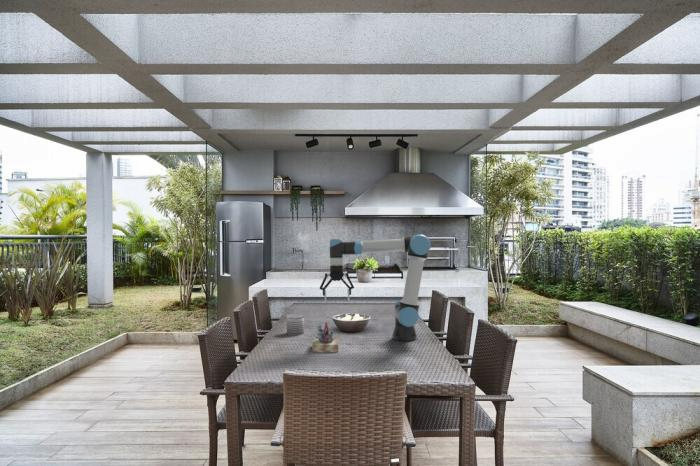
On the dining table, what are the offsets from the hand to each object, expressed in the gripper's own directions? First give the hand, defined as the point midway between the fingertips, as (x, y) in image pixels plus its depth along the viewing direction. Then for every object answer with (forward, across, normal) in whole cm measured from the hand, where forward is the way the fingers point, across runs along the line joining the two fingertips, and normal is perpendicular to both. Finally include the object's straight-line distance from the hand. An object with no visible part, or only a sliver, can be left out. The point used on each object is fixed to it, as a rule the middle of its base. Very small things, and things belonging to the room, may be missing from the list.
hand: (337, 301), depth 282 cm
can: (+24, +25, -30) cm, 47 cm away
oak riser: (+25, +8, +13) cm, 29 cm away
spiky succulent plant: (+21, +8, +12) cm, 26 cm away
